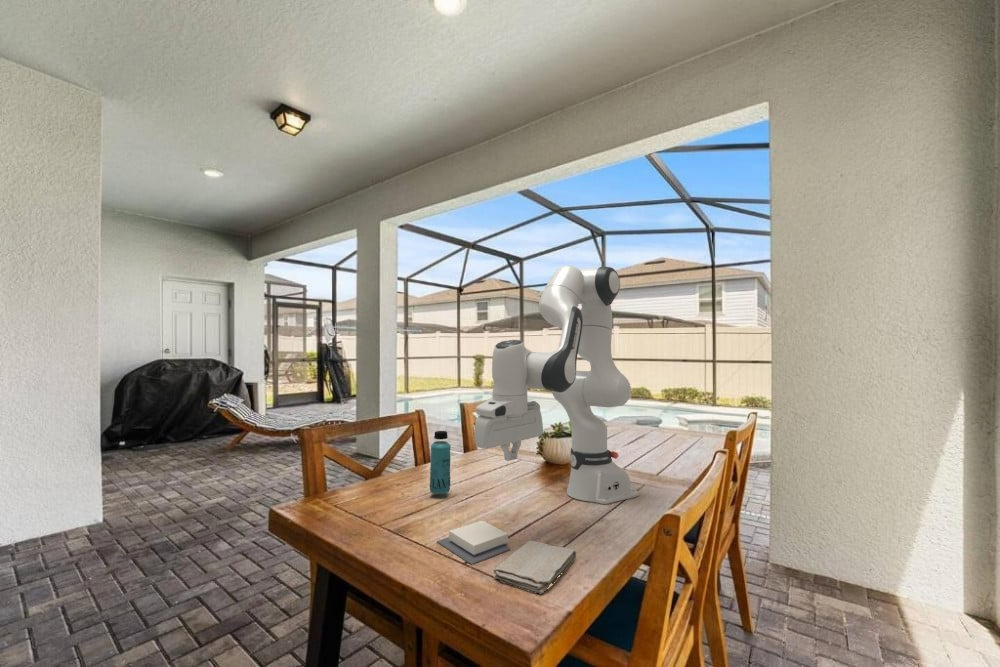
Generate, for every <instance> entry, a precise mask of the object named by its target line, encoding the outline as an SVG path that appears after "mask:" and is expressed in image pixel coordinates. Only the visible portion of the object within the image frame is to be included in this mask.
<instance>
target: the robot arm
mask: <svg viewBox="0 0 1000 667" xmlns="http://www.w3.org/2000/svg"><path fill="white" fill-rule="evenodd" d="M619 276H620V275H619V274H618V272H617V270H615V268H613V267H610V266H599V267H586V268H582V269H579V268H578V267H576V266H573V265H563V266H560V267H559V268H557V270H555V272H554V273H553V274H552V276H551V277H550V278H549V280H548V282H547V284H546V285H545V287H544V290H543V292H542V293H541V296H540V298H539V302H538V309H539V313H540V314H541V316H542V318H543V319H544V320H545V321H546V322H547V323H549V324H550V325H552V326H553V327H555V328H559V329H561V334H560V339H559V343H558V348H557V349H555V350H553V351H550V352H540V351H539V352H537V351H532V350H530V349H528V348H527V347H526V346H525V343H524V341H523V340H521V339H510V340H503V341H499V342H498V343H497V344H495V345H494V348H493V353H492V360H491V378H492V380H493V388H492V391H491V392H492V393H491V394H492V395H491V396H492V397H490V398H489V399H488V400H486V401H484V402H482V403H480V404H478V405H477V406H476V407H475V413H476V415H478V416H477V417H476V419H475V423H474V443H475V445H476V446H477V447H478V448H480V449H483V450H484V449H485V450H487V449H491V448H495V447H500V449H501V451H502V452H503V453H504V456H503V457H504V460H505V461H507V462H510V461H513V460H517V459H518V458H519V457H518V452H519V450H520V448H521V445H522V441H524V440H530V439H532V438H537V437H540V436H542V435H543V433H544V426H543V418H542V417H543V416H542V412H541V405H540V404H539V402H537V401H536V400H532V401H529V400H528V388H529V389H535V390H546V391H551V394H552V396H553V398H554V399H555V401H557V403H559V404H560V405H561V406H562V407H563V409H564V410H565V412H566V414H567V416H568V419H569V423H570V429H571V447H570V453H569V456H570V457H569V458H570V474H569V479H568V480H569V481H568V485H567V489H566V494H567V495H568V496H569V497H571V498H572V499H576V500H579V501H585V502H591V503H597V504H602V505H608V504H613V503H616V502H620V501H623V500H625V501H626V500H629V499H632V498H637V497H638V496H639V491H638V490H637V489H636V488H634V487H632V486H631V480H630V477H629V474H628V472H626V471H625V470H624V469H622V468H621V467H620V466H619V465H617V464H616V462H614V461H613V459H618V458H619V456H620V455H619V453H618V451H617V452H616V451H614V450H612V451H611V450H609V449H608V427H607V425H606V423H605V421H603V419H601V418H599V417H597V415H595V414H594V413H593V411H592V408H591V407H598V408H599V407H600V408H617V407H623V406H624V405H626V403H628V402H629V400H630V397H631V394H632V388H631V387H632V386H631V383H630V381H629V379H628V378H627V377H626V376H625V375H624V374H623V373H622V372H621V371H620V370H619V369H618V367H617V366H616V364H615V362H614V359H613V354H612V334H613V332H612V331H613V310H612V303H613V302H614V301H615V299H616V297H617V296H618V293H619V292H620V289H621V281H620V277H619ZM579 305H581V308H578V307H579ZM578 356H579V357H581V358H582V359H583V360H585V361H587V362H589V364H590V370H577V362H578ZM511 444H512V446H511ZM509 448H511V450H510V449H509Z"/></svg>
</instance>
